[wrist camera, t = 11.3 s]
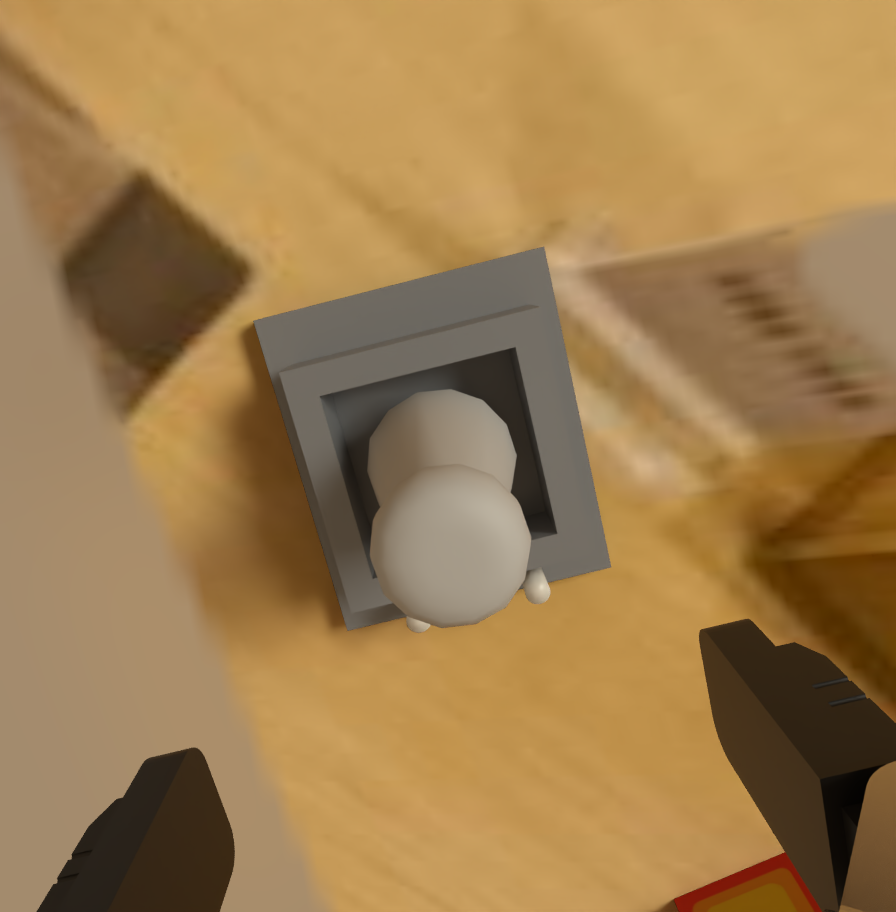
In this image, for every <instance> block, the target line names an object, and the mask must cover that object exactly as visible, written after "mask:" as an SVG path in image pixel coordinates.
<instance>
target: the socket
mask: <svg viewBox="0 0 896 912" xmlns="http://www.w3.org/2000/svg"><path fill="white" fill-rule="evenodd" d="M253 322H254V325H255V328H256V332H257V335H258V338H259V341H260V345H261V348H262V351H263V355H264V358H265V361H266V364H267V368H268V371H269V374H270V378H271V381H272V384H273V387H274V391H275V394H276V397H277V401H278V404H279V407H280V410H281V414H282V417H283V420H284V424H285V427H286V430H287V433H288V437H289V440H290V443H291V447H292V450H293V453H294V456H295V460H296V463H297V466H298V470H299V473H300V476H301V479H302V483H303V486H304V489H305V493H306V496H307V499H308V502H309V506H310V509H311V512H312V516H313V519H314V522H315V525H316V529H317V532H318V535H319V539H320V542H321V545H322V548H323V552H324V555H325V558H326V562H327V565H328V568H329V571H330V575H331V578H332V581H333V585H334V588H335V591H336V594H337V598H338V601H339V604H340V608H341V611H342V614H343V617H344V621H345V624H346V627H347V631H349V630H353V629H357V628H362V627H366V626H370V625H374V624H378V623H382V622H386V621H391V620H395V619H399V618H403V617H407V626H408V627H409V629H410V630H412V631H414V632H417V633H420V632H424V631H426V630H427V629H428V628H429V627H430V624H428V623H425V622H422V621H419V620H416V619H413V618H410V617H408V616H407V615H406V614H405V613H404V612H403V611H401V610H400V609H399V608H398V607H397V606H396V605H395V604H394V603H392V602H391V601H390V600H389V599H388V598H387V597H386V596H385V595H384V594H383V591H382V589H381V586H380V583H379V581H378V578H377V575H376V572H375V570H374V567H373V564H372V561H371V558H370V546H371V535H372V524H373V519H374V517H375V515H376V513H377V511H378V510H379V508H380V505H379V503H378V501H377V498H376V495H375V492H374V489H373V487H372V484H371V481H370V478H369V475H368V472H367V467H368V454H369V441H370V437H371V436H372V434H373V433H374V431H375V430H376V428H377V427H378V425H379V424H380V422H381V421H382V419H383V418H384V416H385V415H386V413H387V412H388V410H390V409H392V408H393V407H395V406H396V405H398V404H399V403H401V402H402V401H404V400H406V399H407V398H409V397H410V396H412V395H413V394H415V393H416V392H426V391H437V390H448V389H452V390H455V391H458V392H461V393H464V394H467V395H469V396H472V397H475V398H478V399H481V400H483V401H484V402H485V403H486V404H487V405H488V406H489V407H490V408H491V409H492V410H493V411H494V412H495V413H496V414H497V415H498V416H499V417H500V418H501V419H502V420H503V421H504V422H505V423H506V424H507V427H508V430H509V433H510V436H511V439H512V443H513V446H514V449H515V452H516V455H517V457H516V464H515V470H514V477H513V484H512V489H511V492H510V493H511V494H512V495H513V496H514V497H515V498H516V499H517V501H518V502H519V504H520V506H521V509H522V512H523V515H524V518H525V521H526V524H527V526H528V529H529V532H530V535H531V546H530V552H529V558H528V564H527V570H526V576H525V580H524V582H523V583H522V584H521V586H520V587H519V589H523V588H524V591H525V594H526V597H527V599H528V600H529V601H530V602H532V603H534V604H541V603H544V602H545V601H547V599H548V598H549V596H550V588H549V586H548V582H552V581H556V580H560V579H565V578H569V577H573V576H577V575H581V574H585V573H589V572H594V571H598V570H602V569H606V568H610V567H611V564H610V559H609V554H608V550H607V545H606V540H605V535H604V531H603V526H602V521H601V516H600V512H599V507H598V502H597V497H596V492H595V488H594V483H593V478H592V473H591V469H590V464H589V459H588V454H587V449H586V445H585V440H584V435H583V430H582V426H581V421H580V416H579V411H578V407H577V402H576V397H575V392H574V387H573V383H572V378H571V373H570V368H569V364H568V359H567V354H566V349H565V344H564V340H563V335H562V330H561V325H560V321H559V316H558V311H557V306H556V301H555V297H554V292H553V287H552V282H551V278H550V273H549V268H548V263H547V259H546V254H545V249H544V247H541V248H537V249H533V250H529V251H525V252H521V253H517V254H513V255H510V256H506V257H502V258H498V259H494V260H490V261H486V262H482V263H478V264H474V265H470V266H466V267H462V268H459V269H455V270H451V271H447V272H443V273H439V274H435V275H431V276H427V277H423V278H419V279H415V280H411V281H408V282H404V283H400V284H396V285H392V286H388V287H384V288H380V289H376V290H372V291H368V292H364V293H360V294H357V295H353V296H349V297H345V298H341V299H337V300H333V301H329V302H325V303H321V304H317V305H313V306H309V307H306V308H302V309H298V310H294V311H290V312H286V313H282V314H278V315H274V316H270V317H266V318H262V319H258V320H255V321H253ZM519 589H518V590H519Z"/></svg>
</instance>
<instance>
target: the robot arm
mask: <svg viewBox="0 0 896 912" xmlns="http://www.w3.org/2000/svg"><path fill="white" fill-rule="evenodd" d="M699 642H700V648H701V654H702V660H703V665H704V671H705V676H706V682H707V687H708V693H709V698H710V704H711V710H712V715H713V720H714V724H715V727H716V731H717V734H718V737H719V740H720V742H721V745H722V747H723V750H724V752H725V754H726V756H727V758H728V760H729V762H730V763H731V765H732V766H733V768H734V770H735V771H736V773H737V775H738V776H739V778H740V779H741V781H742V783H743V784H744V786H745V788H746V789H747V791H748V792H749V794H750V796H751V797H752V799H753V800H754V802H755V804H756V805H757V807H758V809H759V810H760V812H761V813H762V815H763V817H764V818H765V820H766V822H767V823H768V825H769V826H770V828H771V830H772V831H773V833H774V834H775V836H776V838H777V839H778V841H779V843H780V844H781V846H782V847H783V849H784V851H785V852H786V854H787V856H788V857H789V859H790V860H791V862H792V864H793V865H794V867H795V868H796V870H797V872H798V873H799V875H800V877H801V878H802V880H803V881H804V883H805V885H806V886H807V888H808V890H809V891H810V893H811V894H812V896H813V898H814V899H815V901H816V902H817V904H818V906H819V907H820V909H821V911H822V912H896V723H895V722H894V721H893V720H892V719H891V718H890V717H889V716H887V715H886V714H885V713H884V712H883V711H882V710H881V709H880V708H879V707H878V706H877V705H876V704H875V703H874V702H873V701H872V700H871V699H870V698H868V699H867V698H866V696H865V693H864V692H863V691H862V690H860V689H859V688H858V687H857V686H856V685H855V684H854V683H853V682H852V681H849V680H848V678H847V676H846V675H845V674H844V673H843V672H842V671H841V670H840V669H839V668H838V667H837V666H836V665H835V664H833V663H832V662H831V661H830V660H829V659H828V658H827V657H826V656H824V655H822V654H820V653H817V652H815V651H813V650H811V649H808V648H806V647H804V646H802V645H799V644H797V643H795V642H793V643H789V644H785V645H781V646H775V645H774V644H773V643H772V642H771V641H770V640H769V639H768V638H767V637H766V635H765V634H764V633H763V632H762V631H761V630H760V629H759V628H758V627H757V626H756V625H755V624H754V623H753V622H752V621H751V620H750V619H744V620H739V621H735V622H731V623H727V624H722V625H718V626H714V627H710V628H705V629H701V630H700V633H699ZM234 854H235V850H234V839H233V833H232V829H231V827H230V823H229V821H228V818H227V815H226V813H225V810H224V807H223V805H222V802H221V799H220V797H219V794H218V792H217V788H216V786H215V783H214V780H213V778H212V775H211V772H210V770H209V767H208V764H207V762H206V760H205V757H204V755H203V754H202V752H201V751H200V750H199V749H197V748H189V749H185V750H181V751H177V752H173V753H168V754H164V755H160V756H156V757H151V758H148V759H147V760H145V761H144V763H143V764H142V766H141V767H140V769H139V771H138V773H137V775H136V776H135V778H134V780H133V781H132V783H131V785H130V787H129V788H128V790H127V792H126V793H125V795H124V797H123V798H119V799H116V800H115V801H114V802H113V803H112V804H111V805H110V806H109V807H108V808H107V809H106V810H105V811H104V812H103V813H102V814H101V815H100V816H99V817H98V818H97V819H96V820H95V821H94V822H93V823H92V824H91V825H90V826H89V827H88V828H87V830H86V832H85V833H84V835H83V837H82V838H81V840H80V842H79V843H78V845H77V846H76V848H75V850H74V851H73V853H72V859H71V860H68V861H67V863H66V865H65V866H64V868H63V869H62V871H61V873H60V874H59V876H58V878H57V879H58V882H57V884H53V886H52V887H51V889H50V891H49V892H48V894H47V896H46V897H45V899H44V901H43V902H42V904H41V905H40V907H39V909H38V910H37V912H220V909H221V906H222V903H223V900H224V897H225V893H226V890H227V887H228V884H229V881H230V878H231V875H232V871H233V867H234V856H235V855H234Z"/></svg>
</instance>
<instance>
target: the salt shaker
mask: <svg viewBox="0 0 896 912" xmlns="http://www.w3.org/2000/svg"><path fill="white" fill-rule="evenodd" d="M516 457H517V455H516V452H515V449H514V446H513V443H512V439H511V436H510V433H509V430H508V427H507V424H506V423H505V422H504V421H503V420H502V419H501V418H500V417H499V416H498V415H497V414H496V413H495V412H494V411H493V410H492V409H491V408H490V407H489V406H488V405H487V404H486V403H485V402H484V401H483V400H481V399H478V398H475V397H472V396H469V395H467V394H464V393H461V392H458V391H455V390H452V389H448V390H437V391H426V392H416V393H415V394H413V395H412V396H410V397H409V398H407V399H406V400H404V401H402V402H401V403H399V404H398V405H396V406H395V407H393V408H392V409H390V410H388V412H387V413H386V415H385V416H384V418H383V419H382V421H381V422H380V424H379V425H378V427H377V428H376V430H375V431H374V433H373V434H372V436H371V437H370V441H369V454H368V467H367V472H368V475H369V478H370V481H371V484H372V487H373V489H374V492H375V495H376V498H377V501H378V503H379V505H380V508H379V510H378V511H377V513H376V515H375V517H374V519H373V524H372V535H371V546H370V558H371V561H372V564H373V567H374V570H375V572H376V575H377V578H378V581H379V583H380V586H381V589H382V591H383V594H384V595H385V596H386V597H387V598H388V599H389V600H390V601H391V602H392V603H394V604H395V605H396V606H397V607H398V608H399V609H400V610H401V611H403V612H404V613H405V614H406V615H407V616H408V617H410V618H413V619H416V620H419V621H422V622H425V623H428V624H431V625H434V626H437V627H440V628H447V627H455V626H464V625H472V624H477V623H479V622H480V621H482V620H484V619H486V618H488V617H489V616H491V615H493V614H495V613H496V612H498V611H500V610H502V609H504V608H505V607H506V606H507V605H508V603H509V602H510V600H511V599H512V598H513V596H514V595H515V593H516V592H517V590H518V589H519V587H520V586H521V584H522V583H523V582H524V580H525V576H526V570H527V564H528V558H529V552H530V546H531V535H530V532H529V529H528V526H527V524H526V521H525V518H524V515H523V512H522V509H521V506H520V504H519V502H518V501H517V499H516V498H515V497H514V496H513V495H512V494H511V493H510V492H511V489H512V484H513V477H514V470H515V464H516Z"/></svg>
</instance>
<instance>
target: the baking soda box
mask: <svg viewBox="0 0 896 912" xmlns="http://www.w3.org/2000/svg"><path fill="white" fill-rule="evenodd" d="M674 901H675V903H676V906H677V908H678V911H679V912H822V911H821V909H820V907H819V906H818V904H817V902H816V901H815V899H814V898H813V896H812V894H811V893H810V891H809V890H808V888H807V886H806V885H805V883H804V881H803V880H802V878H801V877H800V875H799V873H798V872H797V870H796V868H795V867H794V865H793V864H792V862H791V860H790V859H789V857H788V856H787V854H786V852H785V853H783V854H780V855H778V856H775V857H773V858H771V859H768V860H766V861H764V862H761V863H759V864H756V865H754V866H752V867H749V868H747V869H744V870H742V871H740V872H737V873H735V874H733V875H730V876H728V877H725V878H723V879H721V880H718V881H716V882H714V883H711V884H709V885H706V886H704V887H702V888H699V889H697V890H694V891H692V892H690V893H687V894H685V895H683V896H680V897H678V898H675V899H674Z"/></svg>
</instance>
